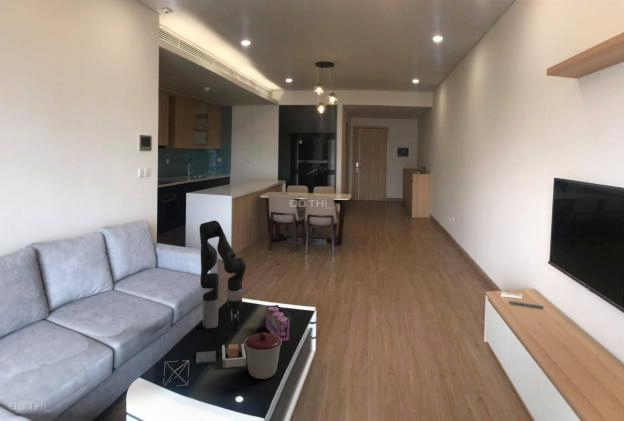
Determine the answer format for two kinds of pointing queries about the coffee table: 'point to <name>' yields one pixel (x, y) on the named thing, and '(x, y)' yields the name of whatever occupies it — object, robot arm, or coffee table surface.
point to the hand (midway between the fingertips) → (234, 329)
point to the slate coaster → (206, 357)
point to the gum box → (277, 322)
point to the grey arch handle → (234, 359)
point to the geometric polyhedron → (175, 372)
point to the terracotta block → (233, 350)
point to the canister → (262, 354)
